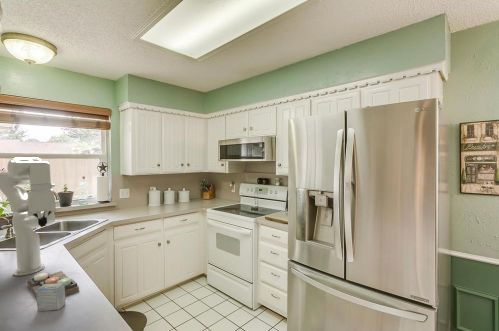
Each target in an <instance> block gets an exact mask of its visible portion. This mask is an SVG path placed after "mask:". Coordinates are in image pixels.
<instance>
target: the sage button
mask: <svg viewBox="0 0 499 331" xmlns="http://www.w3.org/2000/svg"><path fill="white" fill-rule="evenodd" d="M71 279H72V278H71V277H69V278H65V279H61V280H59V281H58V282H57V284H59V283H64V287H65V286H68V285H71Z"/></svg>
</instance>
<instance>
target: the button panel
mask: <svg viewBox="0 0 499 331" xmlns="http://www.w3.org/2000/svg"><path fill="white" fill-rule="evenodd" d="M47 273H48V278H47V279H49V278H53V277H59V280H61V279H65V278H70V277H69V276H68V275H67V274H65V273H64V272H63V271H58V272H54V273H51V274H50V273H49V272H47ZM47 279H45V280H41V281H38V282H34V277H31V278H29V279H28V281H27V287H28V288H29V289H30V290H31V292H32V294H33V295H34V296H35V297H36V298H37V294H36V290H37V289H38V288H40V287H41V286H43V285H44V284H45V281H46V280H47ZM53 284H57V282H56V283H53ZM77 292H80V286H79V285H78V283H77V281H76V280H75V279H73V278H71V285H68V286H65V297H67V296H70V295H73V294H75V293H77Z"/></svg>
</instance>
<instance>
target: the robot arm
mask: <svg viewBox="0 0 499 331" xmlns="http://www.w3.org/2000/svg"><path fill="white" fill-rule="evenodd" d="M50 164H51V163H50V162H48V161H42V159H41V158H39V157H34V156H32V157H31V156H30V157H27V156H26V157H20V156H19V157H18V156H17V157H14V158H11V159H10V160H9V161H8V163H7V170H5V171H1V172H0V191H1V192H2V194H3V195H4V196H5V197H6V198H7V201H8V204H9V207H10V209H11V212H12V213H13V214H15V215H13V216H12V219H11V224H12V227H13V231H14V237H15V252H16V253H15V254H16V269H15V270H14V271H13V272H12V273H13V276H18V277H21V276H27V275H31V274H34V273H38V272H40V271H42V270H43V269H45V264H44V263H41V242H40V235H39V233H37V232H36V231H35V230H34V229H36V228H37V229H38V228H41V227H42V228H43V227H48V226H51V225H53V224H54V223H55V221H56V215H55V212H57V209H56V208H57V207H56V205H57V204H56V198H55V193H54V189H52V188H54V187H55V186H56V185H55V183H54V184H53V183H51V182H52V181H51V180H52V179H51V165H50ZM19 185H20V186H21V185H29V186H30V187H29V188H30V190H29V191H28V192H27V191H26V190H25V189H24V188H22V187H20V186H19Z"/></svg>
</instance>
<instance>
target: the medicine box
mask: <svg viewBox="0 0 499 331" xmlns="http://www.w3.org/2000/svg"><path fill="white" fill-rule="evenodd" d="M36 294H37V297H36V306H37V312H44V311H58V310H60V309H61V308H62V307H63V306H65V305H66V296H65V287H64V283H59V284H44V285H43V286H41V287H40V288H38V289H37V290H36Z"/></svg>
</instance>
